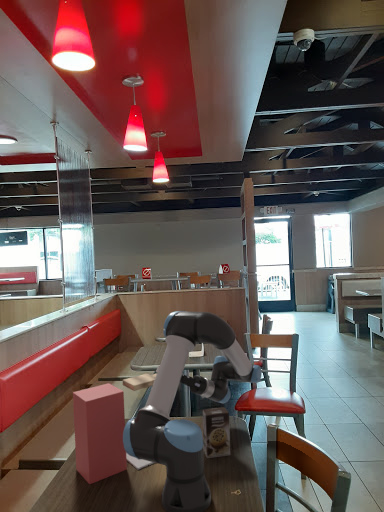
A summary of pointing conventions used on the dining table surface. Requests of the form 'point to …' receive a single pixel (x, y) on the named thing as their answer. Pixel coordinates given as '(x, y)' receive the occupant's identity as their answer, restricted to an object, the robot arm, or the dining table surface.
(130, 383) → the tan flat paddle-shaped piece
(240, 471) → the dining table surface
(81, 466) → the red rectangular block
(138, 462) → the mat
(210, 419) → the coffee box
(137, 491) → the dining table surface
